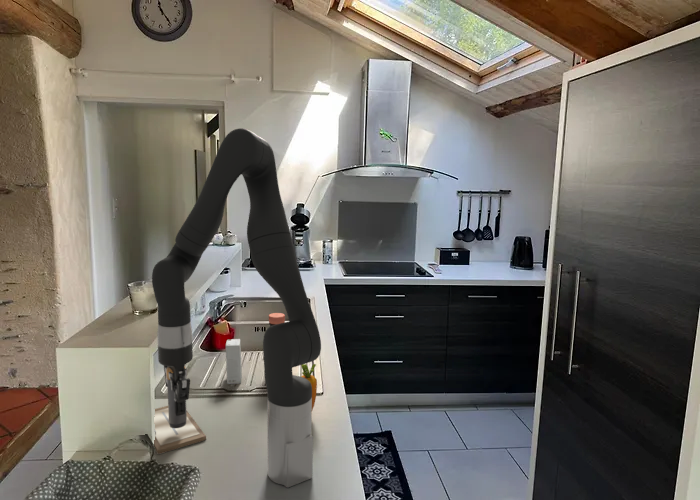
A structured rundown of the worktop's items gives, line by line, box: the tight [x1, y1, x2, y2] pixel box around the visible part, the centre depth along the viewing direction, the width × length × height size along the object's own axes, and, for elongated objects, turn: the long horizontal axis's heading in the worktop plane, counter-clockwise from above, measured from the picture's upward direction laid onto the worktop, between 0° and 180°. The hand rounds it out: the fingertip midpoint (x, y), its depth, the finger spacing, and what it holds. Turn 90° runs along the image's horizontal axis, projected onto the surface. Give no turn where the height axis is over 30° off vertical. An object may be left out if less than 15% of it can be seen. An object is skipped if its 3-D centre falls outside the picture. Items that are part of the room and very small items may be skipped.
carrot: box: [300, 363, 318, 411], centre depth 125 cm, size 5×5×15 cm
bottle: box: [268, 312, 286, 327], centre depth 149 cm, size 7×7×20 cm
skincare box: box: [225, 338, 243, 385], centre depth 147 cm, size 6×4×12 cm
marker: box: [166, 365, 187, 428], centre depth 113 cm, size 4×4×14 cm
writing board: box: [153, 405, 207, 455], centre depth 119 cm, size 20×11×2 cm, turn 36°
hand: (177, 410), depth 114 cm, fingers closed on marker, 4 cm apart
